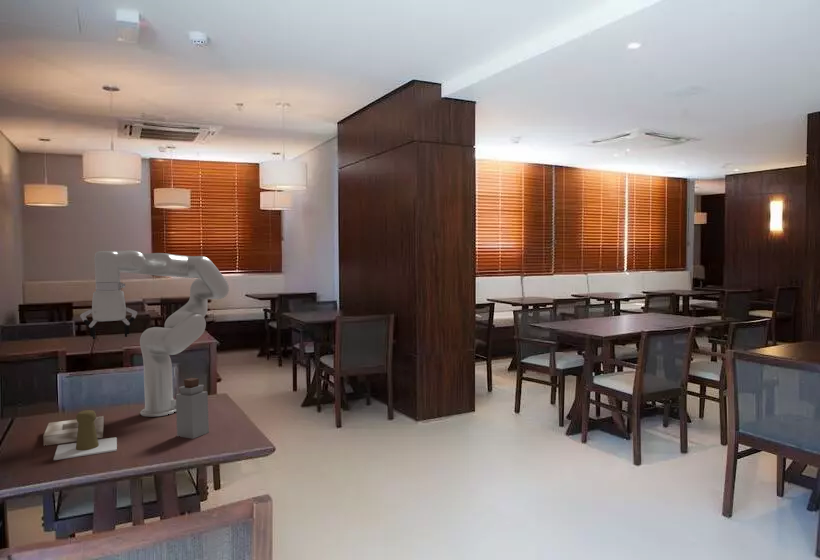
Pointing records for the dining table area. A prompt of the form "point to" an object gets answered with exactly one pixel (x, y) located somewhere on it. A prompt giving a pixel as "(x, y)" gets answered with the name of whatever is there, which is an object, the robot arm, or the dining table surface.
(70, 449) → the grey mat
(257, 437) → the dining table surface
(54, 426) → the shaker holder
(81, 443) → the cork
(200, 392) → the perfume bottle
